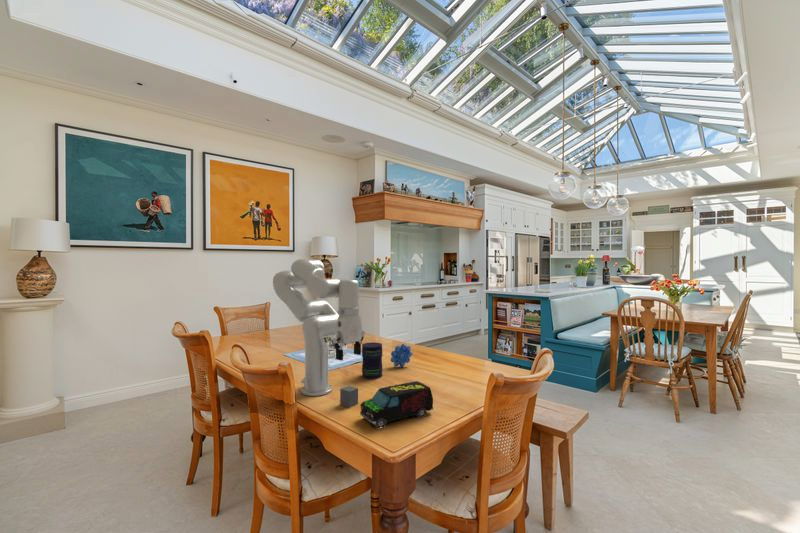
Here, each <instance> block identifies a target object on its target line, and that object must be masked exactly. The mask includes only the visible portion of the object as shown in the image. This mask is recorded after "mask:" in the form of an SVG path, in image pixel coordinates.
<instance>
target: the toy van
mask: <svg viewBox="0 0 800 533" xmlns="http://www.w3.org/2000/svg"><path fill="white" fill-rule="evenodd" d="M434 409H435V408H434V396H433V393H432V390H431V387H430V386H428V385H426V384H424V383H422V382H420V381H410V382H403V383H399V384H395V385H389V386H385V387H381V388H379V389H378V390H377V391H376V392H375V394H374V395H373V396H372V398H369V399H367V400H363V401H362V402H361V403H360V411H359V414H360V416H361V417H363V419H365V420H366V421H367V422H369V424H372V425H374V428H375V429H376V428H380V427H383V428H385V427H386V426H387V423H389V422H393V421H397V420H400V419H404V418H405V419H406V418H409V417H412V416H416V417H417V418H418V419H419V418H422V417H425V416H426V415H427V412H429V411H434ZM384 426H385V427H384ZM380 429H381V428H380Z"/></svg>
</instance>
